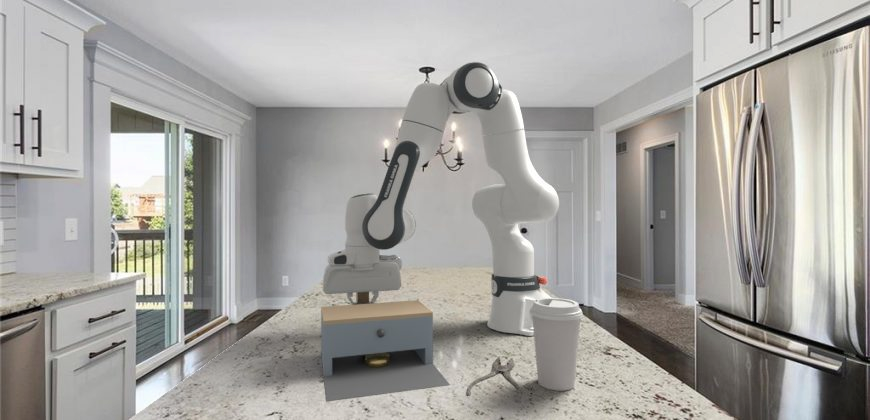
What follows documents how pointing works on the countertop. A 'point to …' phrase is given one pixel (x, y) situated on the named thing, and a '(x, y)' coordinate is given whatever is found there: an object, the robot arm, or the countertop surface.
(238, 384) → the countertop surface
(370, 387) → the mat
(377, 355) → the token
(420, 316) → the cabinet
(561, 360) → the coffee cup
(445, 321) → the countertop surface
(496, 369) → the pliers
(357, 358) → the sweep tool
